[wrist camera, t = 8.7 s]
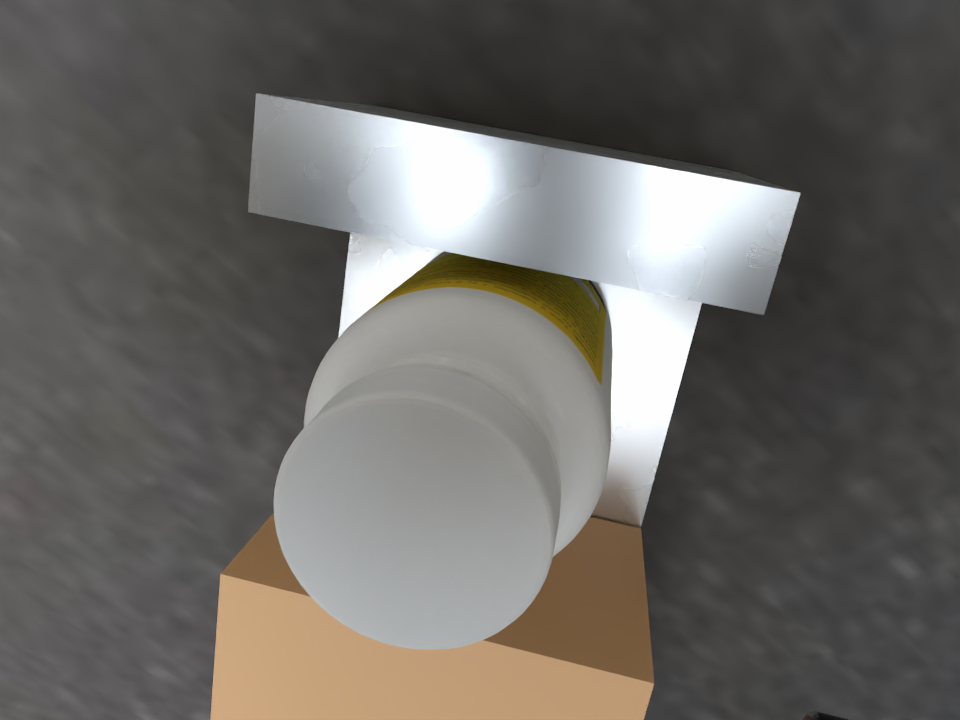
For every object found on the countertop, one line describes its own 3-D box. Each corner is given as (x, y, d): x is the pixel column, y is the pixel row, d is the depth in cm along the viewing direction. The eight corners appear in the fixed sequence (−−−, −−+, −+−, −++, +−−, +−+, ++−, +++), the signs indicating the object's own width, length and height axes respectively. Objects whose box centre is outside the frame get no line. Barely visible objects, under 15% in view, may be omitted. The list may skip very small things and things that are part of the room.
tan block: (641, 528, 20) (654, 683, 15) (586, 730, 22) (579, 932, 17) (324, 454, 21) (220, 574, 16) (301, 655, 23) (203, 823, 18)
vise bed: (733, 170, 18) (800, 193, 12) (587, 713, 23) (579, 928, 17) (372, 105, 19) (256, 93, 13) (309, 641, 24) (205, 820, 18)
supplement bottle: (385, 247, 19) (178, 362, 10) (598, 215, 18) (586, 310, 9) (424, 442, 21) (275, 698, 11) (624, 423, 20) (636, 690, 10)
